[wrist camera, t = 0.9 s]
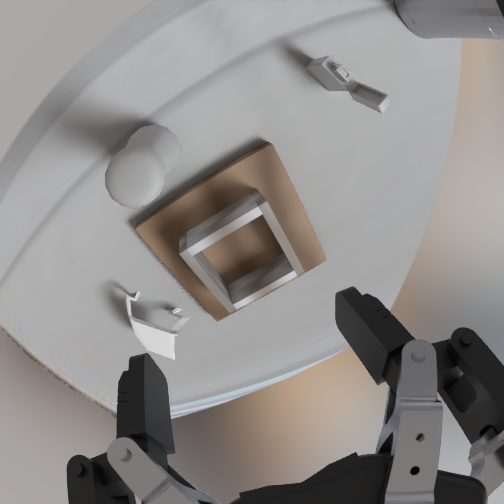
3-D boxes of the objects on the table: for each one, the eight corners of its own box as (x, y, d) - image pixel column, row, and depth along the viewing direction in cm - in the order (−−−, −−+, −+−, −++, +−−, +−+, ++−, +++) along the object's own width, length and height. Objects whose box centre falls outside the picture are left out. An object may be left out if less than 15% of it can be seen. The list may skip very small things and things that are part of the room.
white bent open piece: (203, 316, 40) (206, 340, 36) (169, 343, 42) (169, 367, 38) (139, 272, 34) (135, 295, 30) (108, 306, 36) (102, 330, 31)
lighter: (304, 68, 25) (339, 60, 18) (313, 59, 25) (349, 49, 18) (345, 108, 28) (385, 114, 22) (353, 99, 28) (394, 103, 21)
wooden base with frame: (268, 141, 29) (283, 150, 24) (322, 254, 39) (339, 276, 34) (136, 224, 30) (128, 246, 26) (216, 314, 40) (220, 341, 36)
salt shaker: (119, 153, 26) (76, 189, 15) (152, 112, 25) (124, 119, 14) (158, 184, 29) (140, 237, 18) (192, 145, 27) (193, 175, 17)
